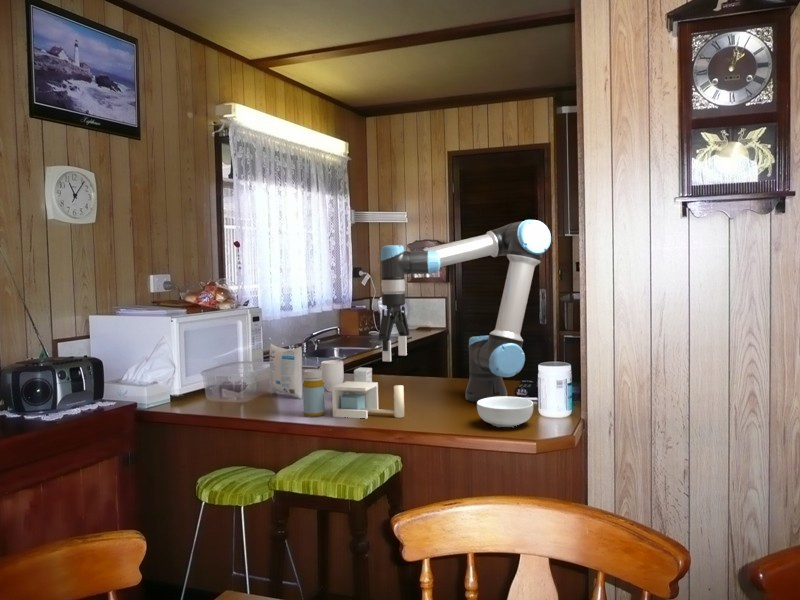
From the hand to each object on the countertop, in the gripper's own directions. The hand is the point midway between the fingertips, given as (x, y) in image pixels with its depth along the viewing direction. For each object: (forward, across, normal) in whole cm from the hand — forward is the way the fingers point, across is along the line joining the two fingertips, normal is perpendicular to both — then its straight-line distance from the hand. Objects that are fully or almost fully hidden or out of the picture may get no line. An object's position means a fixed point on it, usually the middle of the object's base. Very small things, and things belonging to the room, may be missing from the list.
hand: (395, 358), depth 207 cm
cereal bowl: (+19, +2, +36) cm, 41 cm away
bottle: (+19, +5, -28) cm, 34 cm away
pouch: (+19, -20, -54) cm, 61 cm away
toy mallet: (+19, +1, -8) cm, 20 cm away
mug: (+19, -34, -42) cm, 58 cm away
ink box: (+19, -20, -21) cm, 35 cm away
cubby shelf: (+19, +1, -14) cm, 23 cm away
